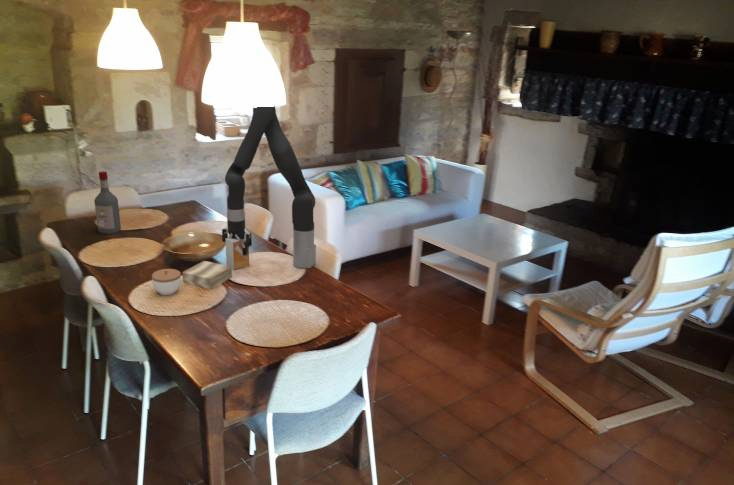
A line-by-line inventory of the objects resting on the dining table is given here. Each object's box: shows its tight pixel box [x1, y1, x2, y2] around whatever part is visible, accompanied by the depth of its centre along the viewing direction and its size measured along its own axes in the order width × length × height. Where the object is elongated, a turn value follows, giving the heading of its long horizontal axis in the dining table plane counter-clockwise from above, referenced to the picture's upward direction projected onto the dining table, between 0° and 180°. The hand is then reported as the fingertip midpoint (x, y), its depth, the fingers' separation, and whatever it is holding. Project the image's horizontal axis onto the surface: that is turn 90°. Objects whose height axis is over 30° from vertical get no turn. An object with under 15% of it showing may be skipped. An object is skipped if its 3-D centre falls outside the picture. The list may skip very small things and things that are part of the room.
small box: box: [225, 238, 250, 271], centre depth 252 cm, size 8×6×13 cm
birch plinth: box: [181, 260, 233, 290], centre depth 239 cm, size 14×14×5 cm
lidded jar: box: [151, 268, 182, 296], centre depth 226 cm, size 11×11×9 cm
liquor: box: [93, 171, 122, 235], centre depth 283 cm, size 9×9×30 cm
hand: (237, 253), depth 252 cm, fingers closed on small box, 7 cm apart
